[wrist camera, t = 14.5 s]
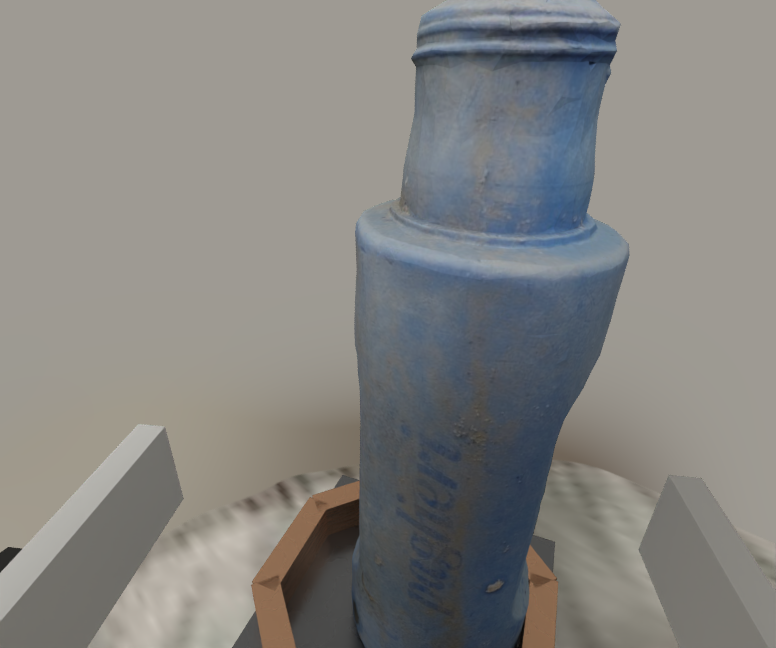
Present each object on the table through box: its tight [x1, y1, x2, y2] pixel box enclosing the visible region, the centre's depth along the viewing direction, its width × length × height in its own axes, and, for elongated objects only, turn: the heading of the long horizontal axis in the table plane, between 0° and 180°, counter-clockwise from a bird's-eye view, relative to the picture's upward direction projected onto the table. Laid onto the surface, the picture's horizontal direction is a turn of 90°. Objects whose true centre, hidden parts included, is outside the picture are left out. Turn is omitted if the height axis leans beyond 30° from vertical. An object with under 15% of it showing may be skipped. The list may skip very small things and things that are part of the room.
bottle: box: [352, 0, 629, 648], centre depth 20 cm, size 10×10×30 cm
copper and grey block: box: [232, 475, 558, 648], centre depth 28 cm, size 16×16×8 cm
